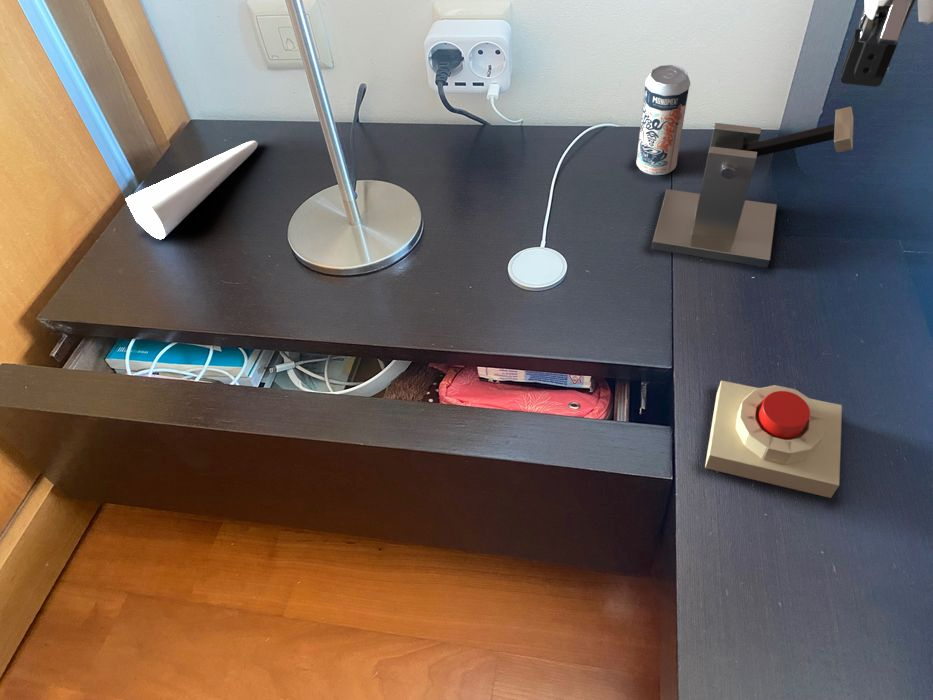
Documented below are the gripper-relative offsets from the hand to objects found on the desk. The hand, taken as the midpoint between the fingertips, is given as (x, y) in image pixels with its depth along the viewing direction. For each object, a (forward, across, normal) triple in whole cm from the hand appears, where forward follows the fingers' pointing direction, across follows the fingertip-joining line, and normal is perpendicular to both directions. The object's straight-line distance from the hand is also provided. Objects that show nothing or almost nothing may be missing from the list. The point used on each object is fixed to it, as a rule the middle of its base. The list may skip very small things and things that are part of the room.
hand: (859, 79), depth 62 cm
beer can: (+20, +10, +17) cm, 27 cm away
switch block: (+19, -26, +1) cm, 32 cm away
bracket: (+19, 0, +9) cm, 21 cm away
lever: (+8, 0, +4) cm, 9 cm away
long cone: (+20, -7, +69) cm, 73 cm away
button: (+15, -26, +1) cm, 30 cm away
